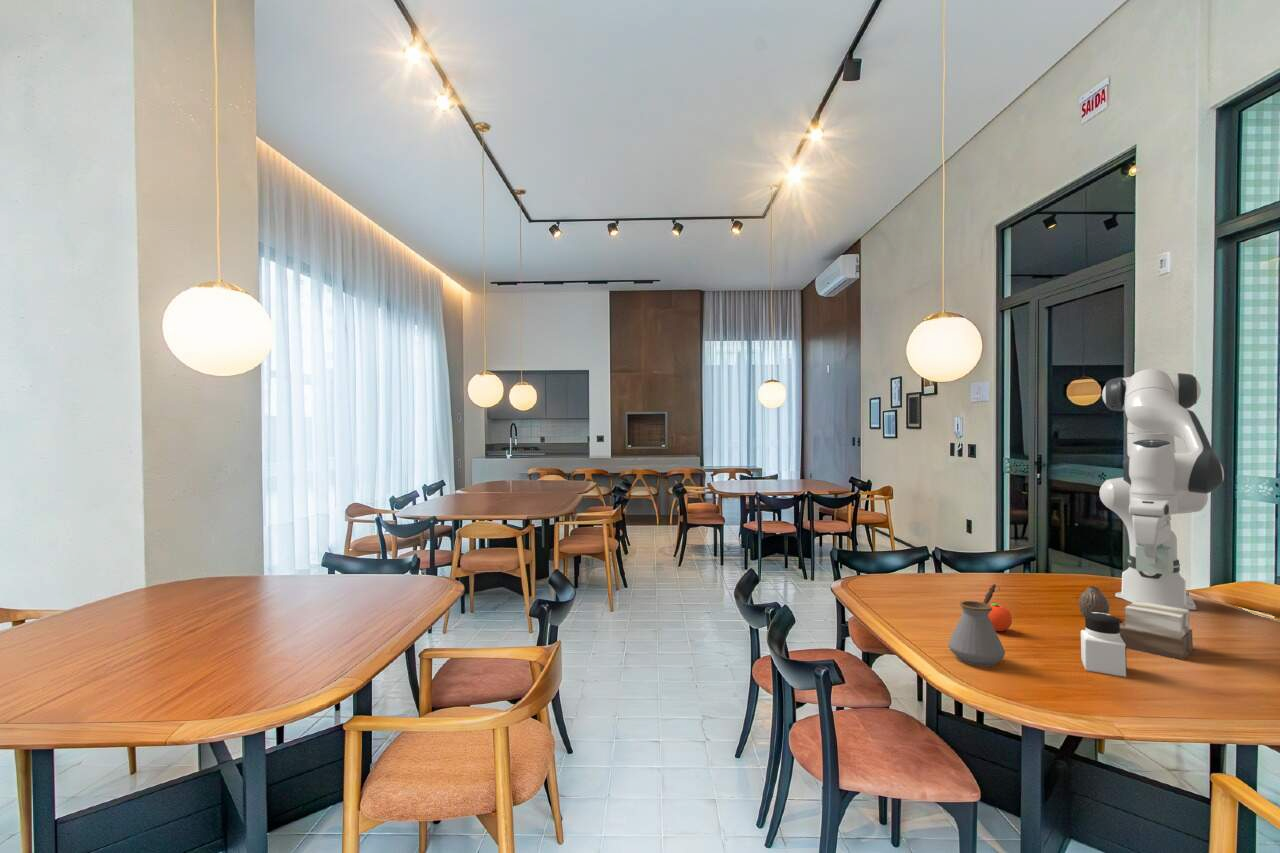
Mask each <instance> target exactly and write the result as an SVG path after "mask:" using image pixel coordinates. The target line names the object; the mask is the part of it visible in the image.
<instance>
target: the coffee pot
mask: <svg viewBox="0 0 1280 853" xmlns="http://www.w3.org/2000/svg"><path fill="white" fill-rule="evenodd" d="M996 588H998V589H999V590H995V589H996ZM988 590H989V591H987V593H986V594H985V597H984V599H983V601H982V602H980V601H974V600H973V601H972V600H971V601H970V600H964V601H960V602H959V606H961V609H962V613H961V615H960V617H959V619H958V621H957V623H956V626H955V627H954V630H953V632H952V634H951V636H950V638H949V640H948V642H947V645H948V648H949V650H950V651H951V653H952V654H953V655H954V656H956V657H957V659H958V660H959V661H961V662H963V663H965V664H968V665H972V666H977V667H994V666H996V664H997V663H999V662H1001V661H1002V660H1003V659H1004V657H1005V655H1006V651H1005V649H1004V646H1003V644H1002V642H1001V639H1000V637H999V636H998V634H997V631H995V629H994V627H993V625H992V623H991V620H990V618H989V616H988V614H989V613H990V611H991V610H992V607H991V606H990V605H988V604H990V601H991V599H992V597H993V594H994V593H995V592H996V593H997V592H1000V591H1001V588H1000V586H999V585H996V584H995V583H993V584H992V585H990V586H989V588H988Z"/></svg>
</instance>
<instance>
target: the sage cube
mask: <svg viewBox="0 0 1280 853" xmlns="http://www.w3.org/2000/svg"><path fill="white" fill-rule="evenodd" d="M1156 556H1157V562H1156V563H1155V564H1148V563H1146V556H1145V552H1144V547H1141V546H1136V571H1143V572H1150V573H1158V574H1165V575H1169V574H1171V573H1172V572H1173V547H1170V546H1161V545H1159V546H1157V547H1156Z"/></svg>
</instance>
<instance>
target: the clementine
mask: <svg viewBox="0 0 1280 853" xmlns="http://www.w3.org/2000/svg"><path fill="white" fill-rule="evenodd" d="M988 605H990V606H991V607H992V610H991V611H990V613H989V614H988V616H989V618H990V620H991V623H992V625H993V627H994V629H995V631H996V632H1004V631H1006V630H1008V629H1009V628H1010V627H1011V625H1012V623H1013V617H1012V615H1011V613H1010V611H1009V610H1008V609H1007V608H1006V607H1004V606H1003V605H1001V604H997V603H988Z"/></svg>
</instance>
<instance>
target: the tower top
mask: <svg viewBox="0 0 1280 853" xmlns="http://www.w3.org/2000/svg"><path fill="white" fill-rule="evenodd" d="M1124 611H1125V612H1124V614H1125V615H1124V618H1125V620H1124V621H1125V627H1126V628H1129V629H1134V630H1139V631H1144V632H1149V633H1153V634H1158V635H1163V636H1168V637H1173V638H1177V639H1181V638H1182V637H1183V636H1184V635H1185V634H1186V633H1187V632H1188V631H1189V629H1190V609H1181V608H1176V607H1170V606H1165V605H1159V604H1153V603H1148V602H1142V601H1134V602H1133V603H1132V602H1130V604H1128V605H1127V606H1125V608H1124Z"/></svg>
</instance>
